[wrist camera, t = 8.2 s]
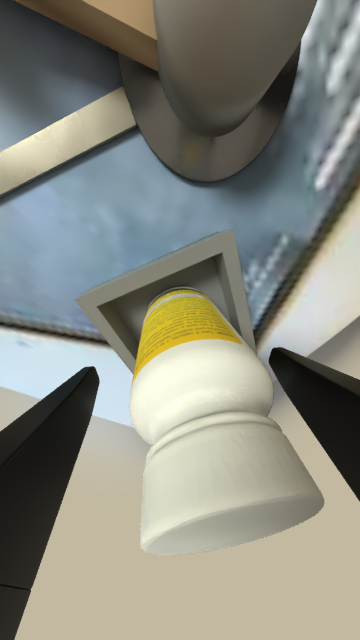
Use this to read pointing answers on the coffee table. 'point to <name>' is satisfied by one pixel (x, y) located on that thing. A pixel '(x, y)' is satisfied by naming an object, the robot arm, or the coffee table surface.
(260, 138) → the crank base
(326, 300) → the coffee table surface
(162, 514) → the supplement bottle
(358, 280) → the coffee table surface
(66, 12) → the crank
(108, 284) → the tray
